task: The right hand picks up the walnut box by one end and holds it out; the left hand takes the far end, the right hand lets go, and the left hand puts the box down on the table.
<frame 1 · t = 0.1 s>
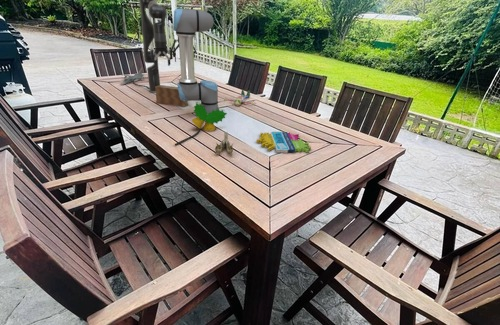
left hand: (162, 65, 184), 29 cm above the table, tool pointing down, fingers open, 8 cm apart
right hand: (184, 61, 211), 28 cm above the table, tool pointing down, fingers open, 13 cm apart
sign: (281, 143, 152), on the table
ornament: (209, 128, 165), on the table
box: (172, 103, 204), on the table
jawbone: (224, 151, 138), on the table
toy: (241, 101, 221), on the table
airplane: (134, 81, 260), on the table
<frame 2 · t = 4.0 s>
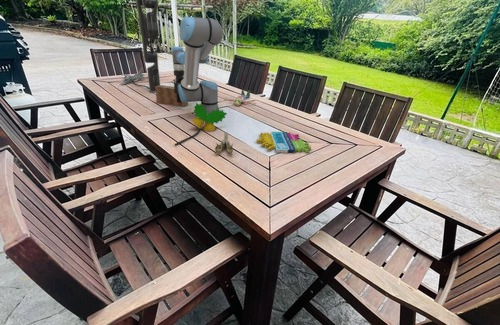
left hand: (155, 52, 198), 35 cm above the table, tool pointing down, fingers open, 8 cm apart
right hand: (181, 101, 201), 3 cm above the table, tool pointing down, fingers closed on box, 6 cm apart
box: (172, 103, 204), on the table, touching right hand
everything else where it was.
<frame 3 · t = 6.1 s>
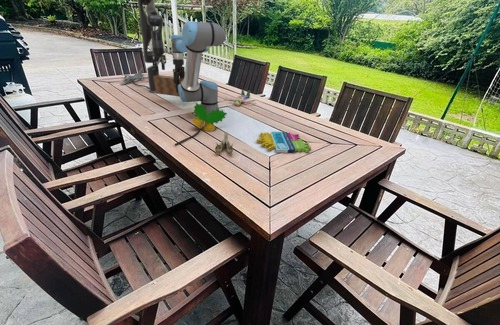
left hand: (160, 70, 193), 24 cm above the table, tool pointing down, fingers open, 8 cm apart
right hand: (180, 91, 197), 11 cm above the table, tool pointing down, fingers closed on box, 6 cm apart
box: (171, 94, 200), point 7 cm above the table, touching right hand
everything else where it was.
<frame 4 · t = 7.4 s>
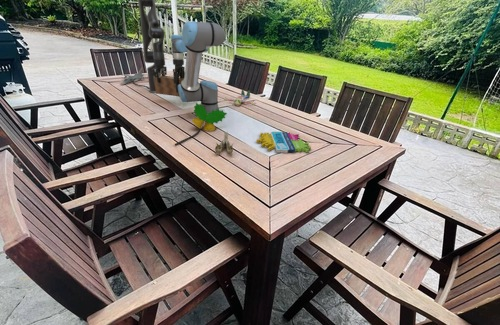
left hand: (161, 81, 197), 16 cm above the table, tool pointing down, fingers closed on box, 6 cm apart
right hand: (180, 91, 197), 11 cm above the table, tool pointing down, fingers closed on box, 6 cm apart
box: (171, 94, 200), point 7 cm above the table, touching right hand, left hand
everything else where it was.
when the right hand's fingers open (11 cm above the table, at t = 8.5 s): box stays where it is, held by the left hand.
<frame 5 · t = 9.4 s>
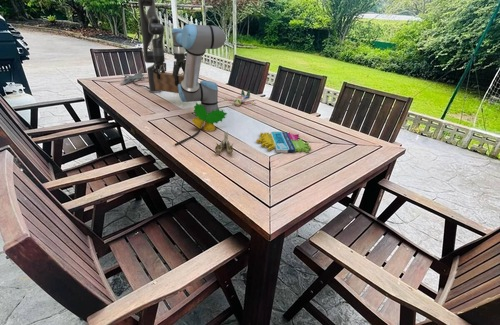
left hand: (161, 78, 196), 19 cm above the table, tool pointing down, fingers closed on box, 6 cm apart
right hand: (181, 84, 193), 16 cm above the table, tool pointing down, fingers open, 13 cm apart
box: (171, 91, 199), point 10 cm above the table, touching left hand
everything else where it was.
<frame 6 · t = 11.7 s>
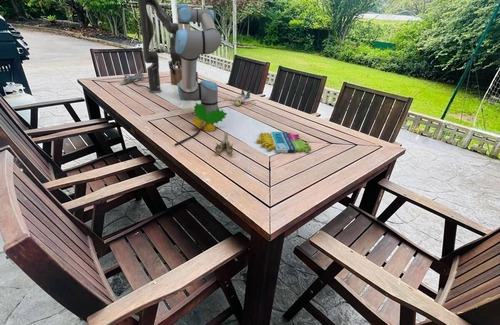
left hand: (176, 73, 212), 19 cm above the table, tool pointing down, fingers closed on box, 6 cm apart
right hand: (186, 64, 186), 31 cm above the table, tool pointing down, fingers open, 13 cm apart
box: (184, 86, 213), point 10 cm above the table, touching left hand
everything else where it was.
when the left hand's fingers open (10 cm above the table, at t = 15.8 s): box drops 1 cm, on the table.
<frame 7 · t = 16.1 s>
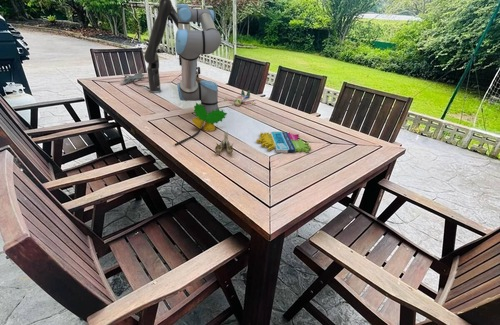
left hand: (193, 79, 236), 11 cm above the table, tool pointing down, fingers open, 8 cm apart
right hand: (186, 64, 186), 31 cm above the table, tool pointing down, fingers open, 13 cm apart
box: (198, 93, 236), on the table
everything else where it was.
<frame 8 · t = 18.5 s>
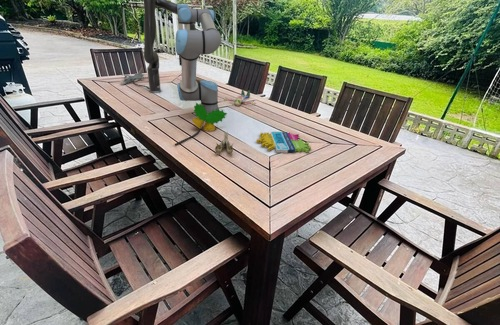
left hand: (192, 57, 227), 29 cm above the table, tool pointing down, fingers open, 8 cm apart
right hand: (186, 64, 186), 31 cm above the table, tool pointing down, fingers open, 13 cm apart
nothing on the table moved.
at the end: box inside the target area (7.4 cm from its centre), on the table; the left hand is holding nothing; the right hand is holding nothing; box at rest at the end (0.0 cm/s) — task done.
